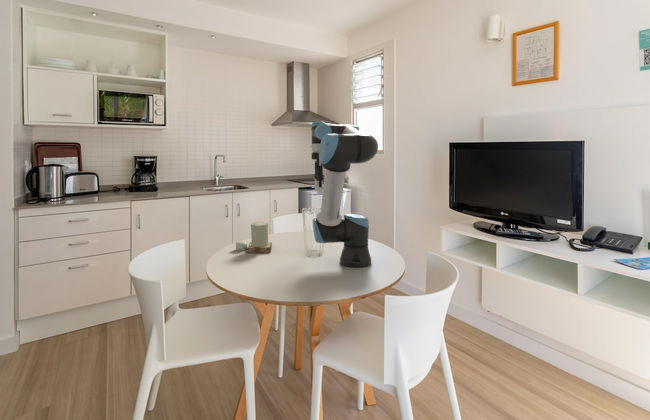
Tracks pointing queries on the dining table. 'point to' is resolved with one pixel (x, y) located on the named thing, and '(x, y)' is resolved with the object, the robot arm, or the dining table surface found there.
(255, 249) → the stand
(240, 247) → the pale green rounded block
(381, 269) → the dining table surface
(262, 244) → the can
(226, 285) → the dining table surface
